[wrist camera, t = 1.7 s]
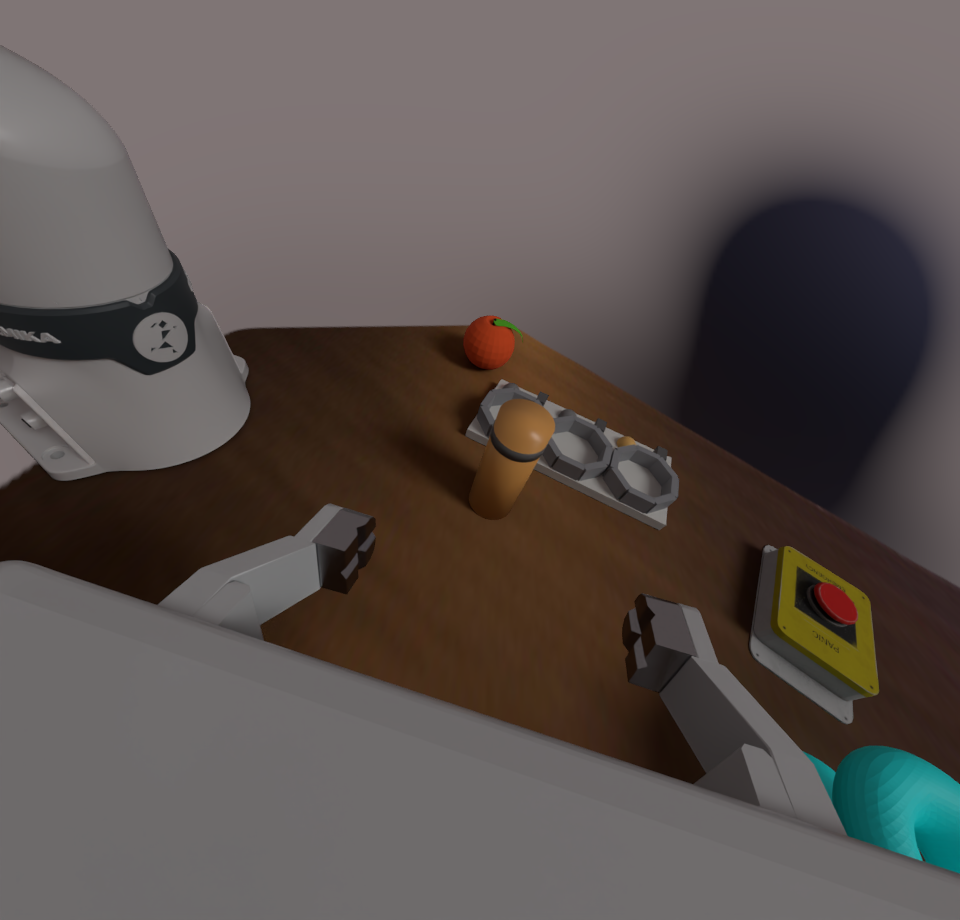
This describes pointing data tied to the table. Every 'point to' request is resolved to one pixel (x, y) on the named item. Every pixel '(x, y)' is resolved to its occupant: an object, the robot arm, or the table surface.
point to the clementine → (489, 342)
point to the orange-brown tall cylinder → (510, 456)
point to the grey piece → (593, 458)
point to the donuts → (896, 803)
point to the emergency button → (814, 632)
